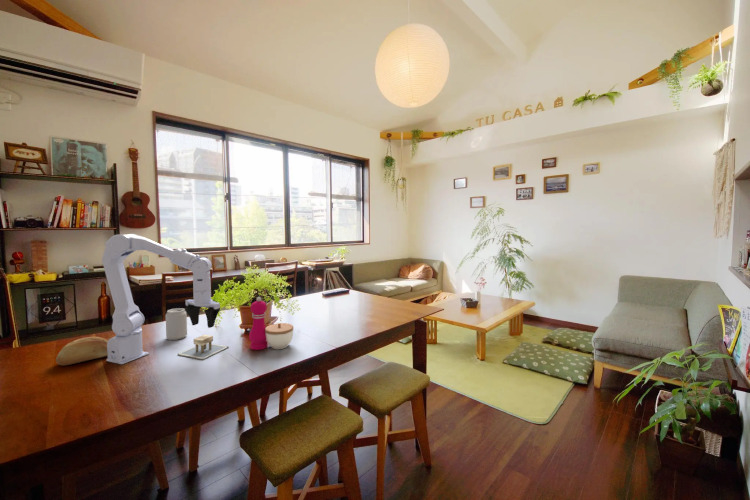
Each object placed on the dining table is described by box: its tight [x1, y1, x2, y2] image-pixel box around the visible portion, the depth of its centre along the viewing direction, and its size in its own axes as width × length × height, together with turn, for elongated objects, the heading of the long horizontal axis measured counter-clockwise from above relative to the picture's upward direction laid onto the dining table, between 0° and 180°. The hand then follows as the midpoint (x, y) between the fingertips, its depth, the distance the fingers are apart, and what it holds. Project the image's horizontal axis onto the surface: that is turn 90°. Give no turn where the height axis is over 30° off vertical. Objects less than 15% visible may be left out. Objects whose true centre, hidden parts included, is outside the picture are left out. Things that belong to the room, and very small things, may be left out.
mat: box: [177, 343, 229, 361], centre depth 119 cm, size 12×12×1 cm
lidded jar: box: [265, 322, 294, 350], centre depth 125 cm, size 11×11×9 cm
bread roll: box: [55, 336, 109, 366], centre depth 110 cm, size 10×15×8 cm, turn 136°
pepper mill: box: [248, 296, 268, 351], centre depth 124 cm, size 7×7×20 cm
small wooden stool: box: [193, 334, 214, 353], centre depth 119 cm, size 5×4×5 cm
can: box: [164, 307, 188, 341], centre depth 132 cm, size 8×8×12 cm
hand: (203, 325), depth 119 cm, fingers open, 7 cm apart
